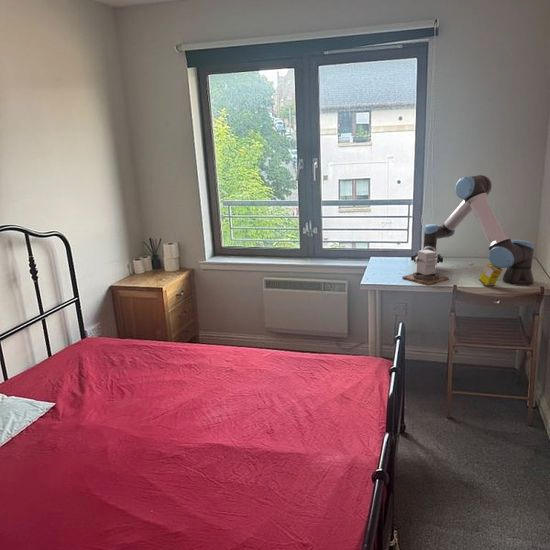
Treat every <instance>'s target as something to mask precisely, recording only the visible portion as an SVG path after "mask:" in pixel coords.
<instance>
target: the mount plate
mask: <svg viewBox="0 0 550 550" xmlns="http://www.w3.org/2000/svg"><path fill="white" fill-rule="evenodd" d="M449 279H450V278H449V276H444V275H440V274H438V272H437V273H436V272H435V273H434V274H428V275H424V274H421V273H419V272H417V271H416V272H413V273H411V274H408V275H404V276H402V280H405V281H409V282H413V283H418V284H421V285H425V286H432V285H435V284H439V283H442V282H445V281H449Z"/></svg>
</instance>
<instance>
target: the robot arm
mask: <svg viewBox="0 0 550 550" xmlns="http://www.w3.org/2000/svg"><path fill="white" fill-rule="evenodd" d="M492 187H493V184H492V181H491V179H490V178H489V177H488V176H486V175H481V174H479V175H467V176H463V177H460V178H459V180H458V181H457V182H456V184H455V189H454V191H455V195H456V196H457V197H458V198H459V199H462V201H461V202H460V203H459V205H458V206H457V207H456V208H455V209H454V210H453V212H452V213H451V214H450V215H449V216H448V218H447V219H446V220H445V221H444V222H443V223H442V224H441V225H439V226H438V224H434V223H427V224H424V225H425V226H424V231H423V232H424V233H423V247H422V248H423V249H422V250H431V251H434V252H436V253H437V245H438V244H437V242H438V240H440V239H444V238H445V239H447V238H450V237H453V236H454V234H455V232H456V228H457V227H458V226H459V225H460V224H461V223H462V222H463V220H465V219H466V217H467V216H468V215H469V214H470V213H471V211H472V212H473V214H474V216H475V218H476V220H477V222H478V224H479V226H480V228H481V230H482V231H483V233H484V236H485V238H486V239H487V241H488V244H489V245H488V250H489V252H488V260H489V262H490V264H492V265H494V266H495V267H498V268H501V269H506V270H505V272H504V275H503V276H502V281H503V282H504V283H505V284H508V283H510V284H509V285H513V284H516V285H515V286H531V285H534V279H535V278H534V275H533V271H532V267H533V259H534V250H535V248H534V247H535V243H534V242H532V241H528V240H524V239H523V240H522V239H511V238H510V237H507V236H506V235H505V233H504V230H503V228H502V227H501V224H500V223H499V221H498V219H497V218H496V216H495V214H494V210H492V207H491V206H490V203H489V202H488V199H487V197H488V195H489V194H490V192H491V190H492ZM417 259H418V252H415V253H414V254H413V255H411V256H410V261H413V262H414V263H415V265H417ZM443 261H444V258H443V256H441V254H440V253H439V254H436V260H435V266H438V264H439V263H441V264H442V263H444V262H443ZM530 284H531V285H530Z"/></svg>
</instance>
